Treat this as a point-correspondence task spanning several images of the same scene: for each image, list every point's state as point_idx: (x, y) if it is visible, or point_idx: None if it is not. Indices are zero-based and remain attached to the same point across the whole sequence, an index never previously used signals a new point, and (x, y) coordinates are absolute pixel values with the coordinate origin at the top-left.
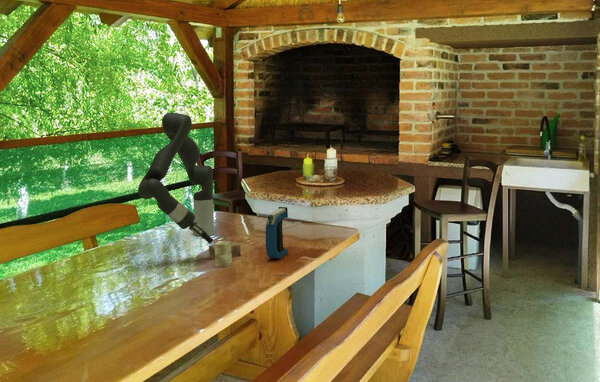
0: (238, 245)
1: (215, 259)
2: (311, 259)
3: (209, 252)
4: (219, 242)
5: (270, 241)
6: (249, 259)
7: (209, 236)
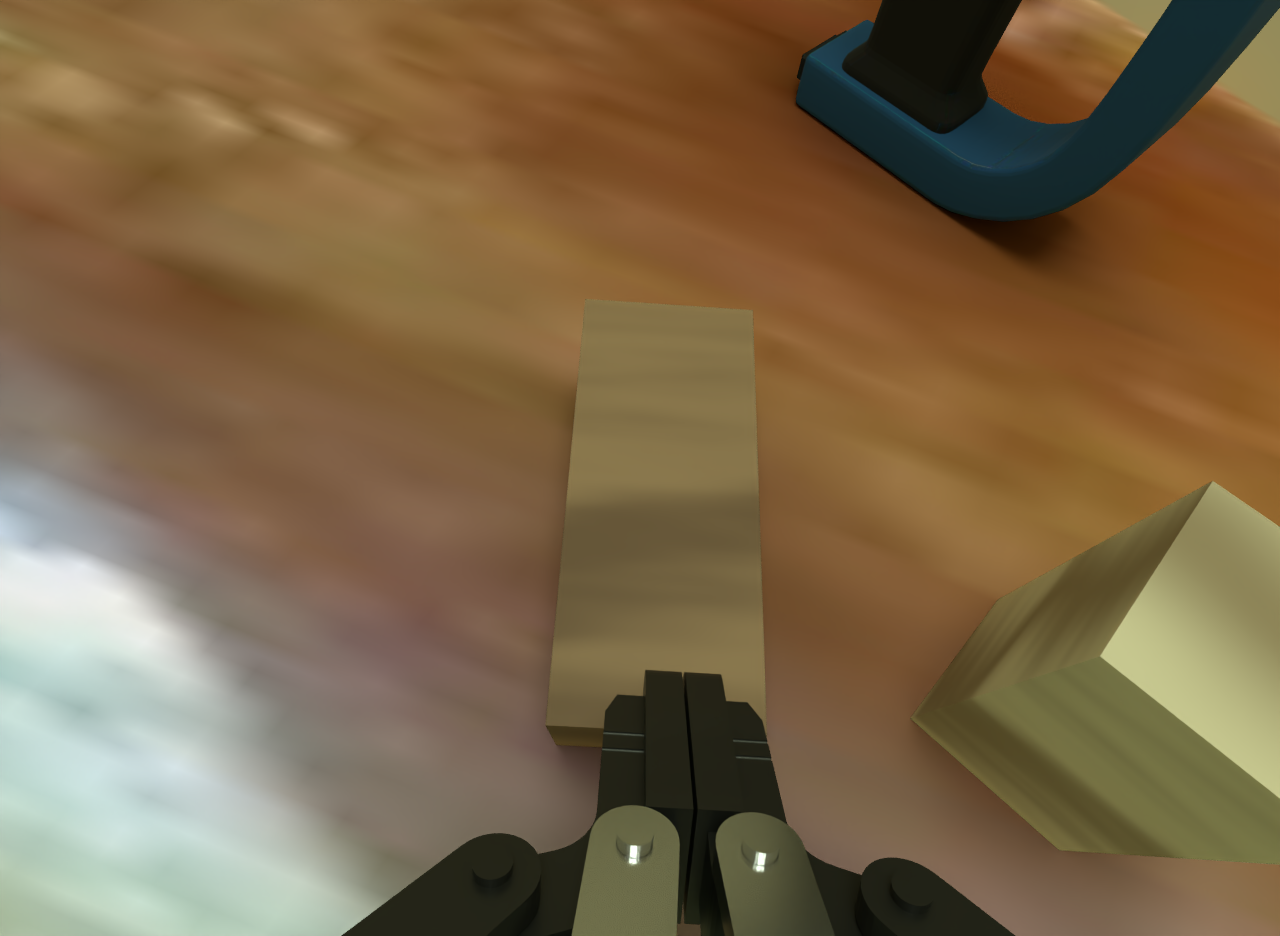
0: (751, 335)
1: (1127, 850)
2: (1091, 20)
3: (563, 738)
4: (1232, 705)
5: (1228, 60)
6: (909, 375)
7: (733, 746)
